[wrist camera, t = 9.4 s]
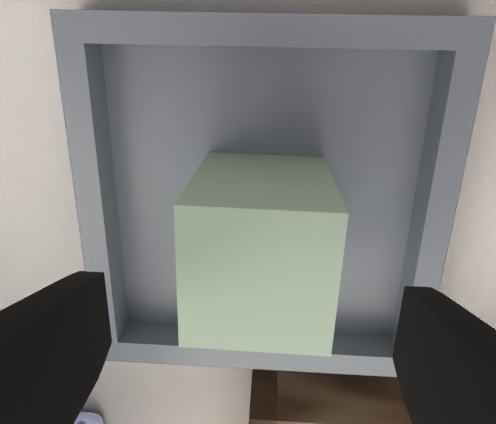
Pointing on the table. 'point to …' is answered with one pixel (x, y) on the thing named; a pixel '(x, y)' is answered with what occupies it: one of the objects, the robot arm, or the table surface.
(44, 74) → the table surface
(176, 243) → the block
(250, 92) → the tray
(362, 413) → the frame
